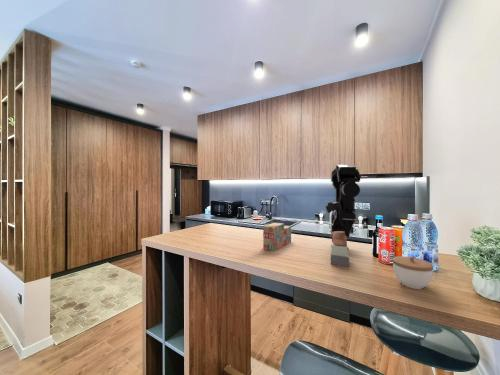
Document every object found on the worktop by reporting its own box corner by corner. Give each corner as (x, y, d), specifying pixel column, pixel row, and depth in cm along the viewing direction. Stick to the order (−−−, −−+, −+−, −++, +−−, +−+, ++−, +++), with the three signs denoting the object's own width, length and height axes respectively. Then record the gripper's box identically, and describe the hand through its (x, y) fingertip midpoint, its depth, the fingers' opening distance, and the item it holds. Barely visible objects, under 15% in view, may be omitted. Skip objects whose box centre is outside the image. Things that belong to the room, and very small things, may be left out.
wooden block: (340, 242, 93) (339, 230, 94) (349, 244, 88) (349, 232, 89) (330, 243, 92) (329, 232, 92) (339, 245, 86) (338, 233, 87)
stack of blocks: (281, 240, 127) (281, 220, 127) (291, 241, 123) (291, 221, 123) (263, 249, 110) (263, 225, 109) (273, 251, 106) (273, 227, 106)
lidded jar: (407, 292, 65) (408, 262, 65) (385, 277, 76) (385, 251, 76) (442, 292, 65) (442, 262, 65) (415, 277, 76) (415, 251, 76)
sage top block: (332, 250, 94) (332, 241, 94) (346, 252, 92) (346, 243, 92) (331, 254, 89) (331, 245, 89) (347, 256, 86) (347, 247, 86)
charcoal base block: (331, 259, 95) (331, 250, 95) (348, 261, 92) (349, 252, 92) (330, 264, 88) (330, 255, 88) (349, 267, 85) (349, 257, 85)
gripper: (329, 194, 100) (328, 227, 100) (324, 196, 83) (324, 235, 84) (355, 195, 95) (354, 229, 95) (355, 197, 79) (355, 239, 79)
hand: (346, 233), depth 88 cm, fingers open, 9 cm apart
